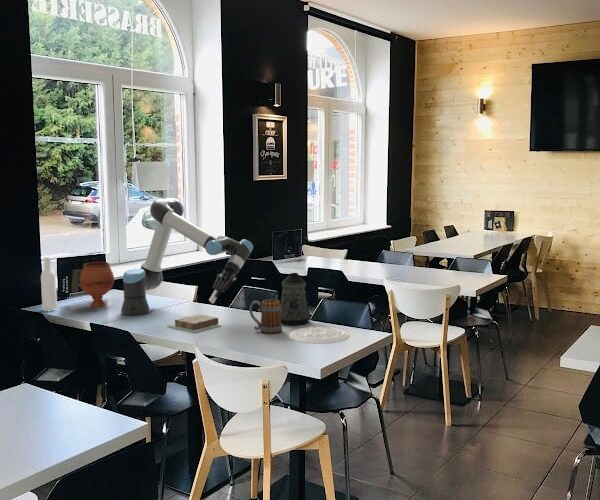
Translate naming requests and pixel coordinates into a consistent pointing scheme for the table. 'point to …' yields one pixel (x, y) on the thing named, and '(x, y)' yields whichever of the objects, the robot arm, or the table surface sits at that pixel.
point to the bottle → (48, 286)
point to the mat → (192, 329)
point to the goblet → (96, 281)
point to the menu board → (196, 321)
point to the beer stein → (294, 301)
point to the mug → (268, 316)
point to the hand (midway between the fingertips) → (211, 301)
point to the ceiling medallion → (318, 335)
